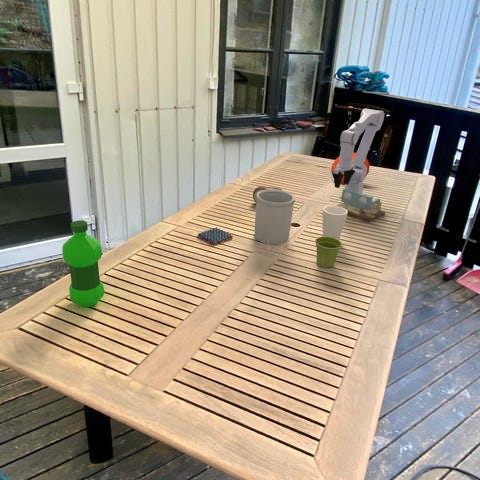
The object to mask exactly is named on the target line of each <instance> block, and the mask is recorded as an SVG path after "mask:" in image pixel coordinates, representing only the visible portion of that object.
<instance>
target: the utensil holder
mask: <svg viewBox="0 0 480 480" xmlns="http://www.w3.org/2000/svg"><path fill="white" fill-rule="evenodd" d="M282 190H283V189H282ZM282 190H275V189H267V190H262V191H259V192H258V193H257V195H256V199H257V202H255V203H256V205H255V216H254V217H255V218H254V238H255V239H256V240H257V241H259V242H261V243H263V244H267V245H281V244H284V243H286V242H288V241H289V238H290V232H291V226H292V225H291V224H292V220H293V219H292V218H293V211H294V205H295V201H296V196H295V195H294V194H293V193H292V192H288V191H286V190H283V191H282Z"/></svg>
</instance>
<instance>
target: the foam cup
mask: <svg viewBox="0 0 480 480" xmlns="http://www.w3.org/2000/svg"><path fill="white" fill-rule="evenodd" d="M347 213H348V211H347V210H346V209H345V208H342V207H339V206H337V205H326V206H324V207H323V208H322V237H325V236H326V237H333V238H336V239H338V240H340V239H341V236H342V232H343V229H344V226H345V223H346V220H347V218H348V215H347Z"/></svg>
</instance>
